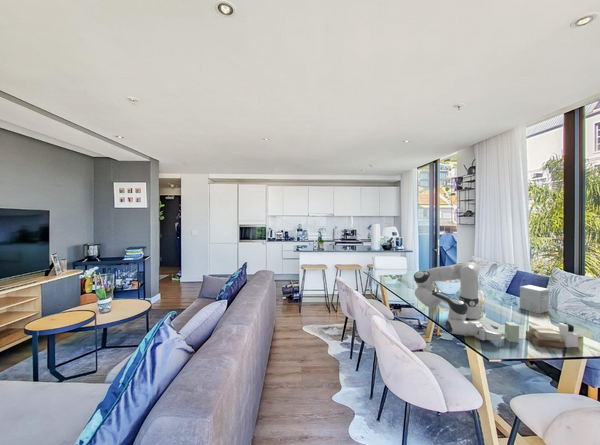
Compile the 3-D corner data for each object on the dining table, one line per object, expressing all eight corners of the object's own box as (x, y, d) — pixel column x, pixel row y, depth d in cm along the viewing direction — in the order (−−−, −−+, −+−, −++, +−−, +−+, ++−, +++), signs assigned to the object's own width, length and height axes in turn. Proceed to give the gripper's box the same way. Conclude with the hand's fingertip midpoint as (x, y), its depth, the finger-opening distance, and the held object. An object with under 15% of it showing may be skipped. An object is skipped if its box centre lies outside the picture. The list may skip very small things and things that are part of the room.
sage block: (504, 337, 162) (504, 321, 162) (513, 338, 161) (514, 322, 160) (508, 341, 157) (509, 325, 157) (518, 342, 156) (519, 325, 156)
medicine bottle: (565, 341, 158) (566, 321, 157) (578, 347, 151) (579, 326, 150) (553, 341, 157) (554, 321, 157) (566, 347, 150) (566, 326, 150)
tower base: (525, 337, 163) (526, 330, 162) (548, 339, 160) (548, 332, 160) (538, 347, 151) (539, 340, 151) (563, 350, 148) (564, 342, 148)
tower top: (528, 331, 161) (529, 325, 161) (548, 333, 159) (548, 326, 159) (539, 339, 152) (539, 332, 151) (560, 341, 149) (560, 334, 149)
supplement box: (549, 311, 204) (550, 289, 203) (539, 313, 199) (539, 290, 199) (529, 305, 217) (529, 284, 216) (518, 307, 212) (519, 286, 211)
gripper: (468, 326, 173) (492, 328, 170) (483, 341, 153) (510, 344, 150) (469, 317, 172) (493, 319, 169) (483, 331, 152) (511, 333, 149)
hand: (501, 331), depth 159 cm, fingers open, 8 cm apart
